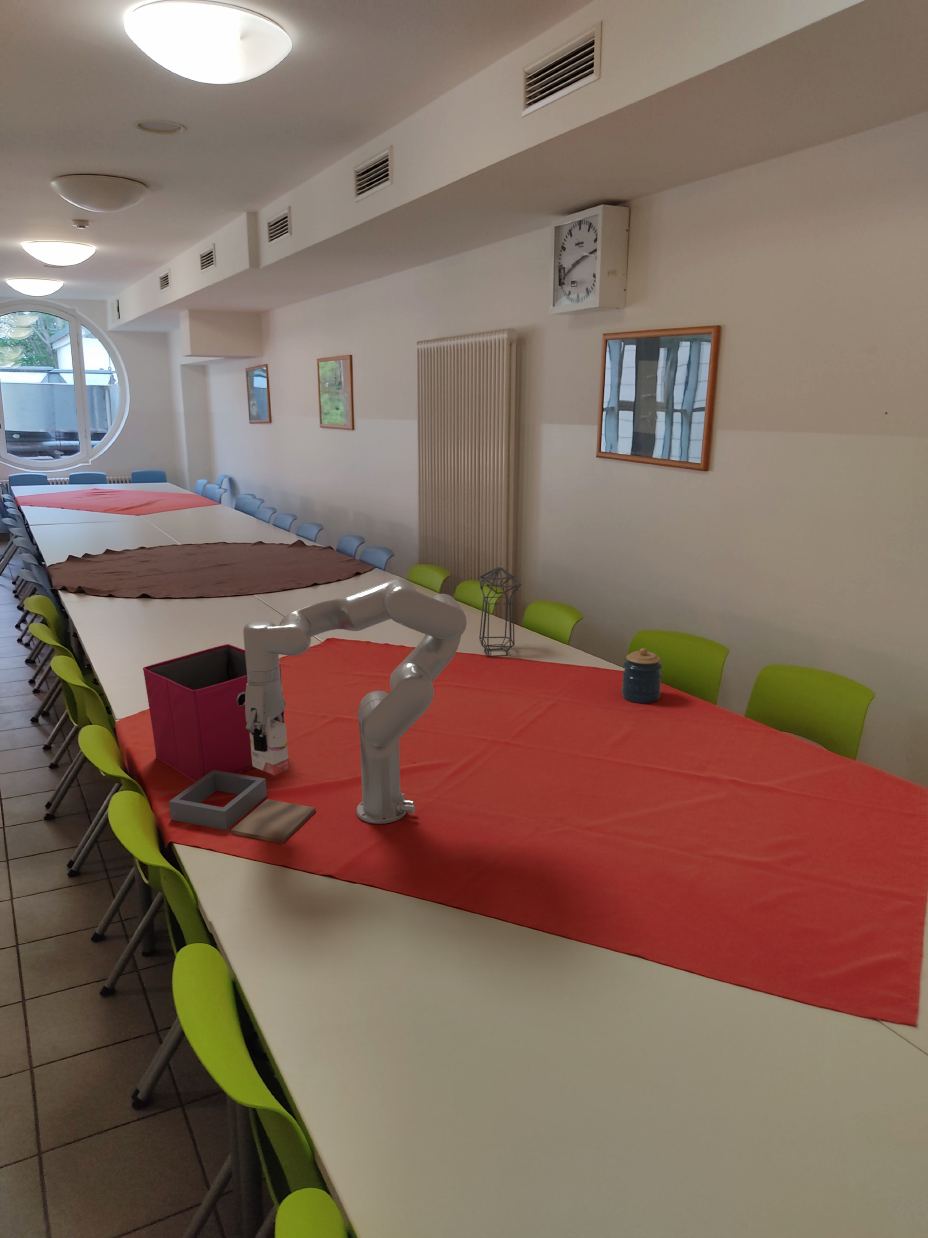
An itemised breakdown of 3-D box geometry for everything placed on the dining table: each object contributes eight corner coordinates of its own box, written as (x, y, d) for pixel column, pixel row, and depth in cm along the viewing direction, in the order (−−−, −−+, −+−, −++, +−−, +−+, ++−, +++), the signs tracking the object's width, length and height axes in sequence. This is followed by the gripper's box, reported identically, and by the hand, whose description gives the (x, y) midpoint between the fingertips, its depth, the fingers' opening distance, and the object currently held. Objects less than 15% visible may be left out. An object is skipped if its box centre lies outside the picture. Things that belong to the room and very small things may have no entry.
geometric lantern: (474, 647, 334) (476, 563, 325) (512, 647, 336) (516, 563, 327) (479, 659, 319) (482, 571, 310) (519, 659, 321) (523, 571, 312)
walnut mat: (315, 811, 207) (315, 807, 207) (282, 843, 192) (282, 840, 192) (267, 802, 211) (267, 799, 211) (231, 833, 197) (230, 830, 196)
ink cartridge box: (290, 768, 197) (286, 712, 193) (274, 776, 193) (269, 718, 189) (267, 759, 202) (263, 703, 198) (251, 766, 198) (246, 709, 194)
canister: (657, 690, 287) (660, 642, 282) (662, 704, 274) (665, 654, 270) (619, 689, 288) (622, 641, 283) (623, 703, 276) (625, 653, 271)
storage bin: (203, 790, 218) (193, 690, 210) (151, 759, 236) (139, 665, 228) (290, 756, 237) (284, 663, 230) (235, 729, 256) (228, 642, 248)
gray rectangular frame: (266, 796, 214) (265, 778, 213) (226, 830, 198) (224, 811, 197) (214, 787, 219) (212, 770, 218) (171, 819, 203) (169, 801, 202)
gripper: (269, 660, 200) (274, 728, 205) (227, 684, 184) (234, 757, 189) (296, 663, 198) (300, 732, 203) (257, 688, 182) (262, 762, 187)
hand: (268, 744), depth 196 cm, fingers closed on ink cartridge box, 6 cm apart
